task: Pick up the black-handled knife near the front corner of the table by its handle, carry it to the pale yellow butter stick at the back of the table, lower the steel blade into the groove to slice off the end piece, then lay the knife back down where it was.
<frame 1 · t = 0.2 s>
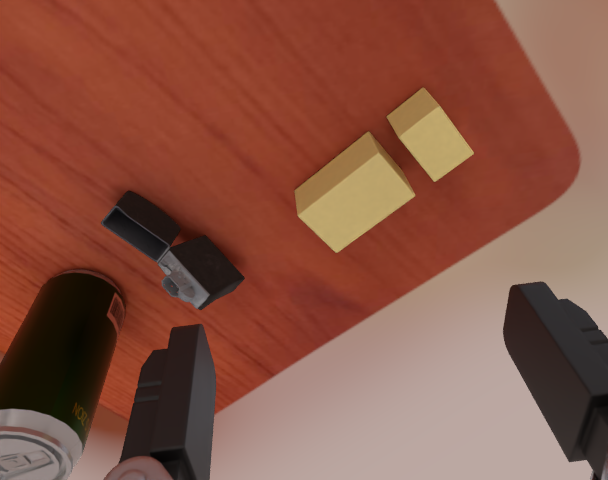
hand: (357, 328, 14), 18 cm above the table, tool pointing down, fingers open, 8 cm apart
butter: (348, 181, 31), on the table
guarana soda can: (86, 296, 34), on the table
lighter: (179, 233, 32), on the table
butter piece: (421, 124, 29), on the table
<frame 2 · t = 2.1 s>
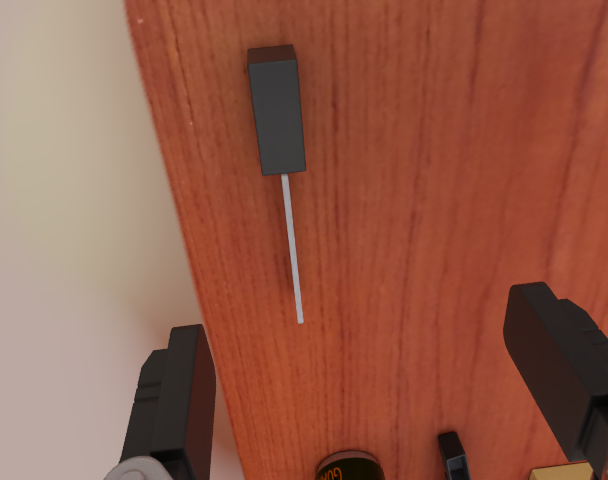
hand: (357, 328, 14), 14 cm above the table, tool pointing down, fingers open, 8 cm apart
knife: (276, 102, 24), on the table
butter: (560, 476, 44), on the table
guarana soda can: (347, 466, 41), on the table
lighter: (446, 459, 42), on the table
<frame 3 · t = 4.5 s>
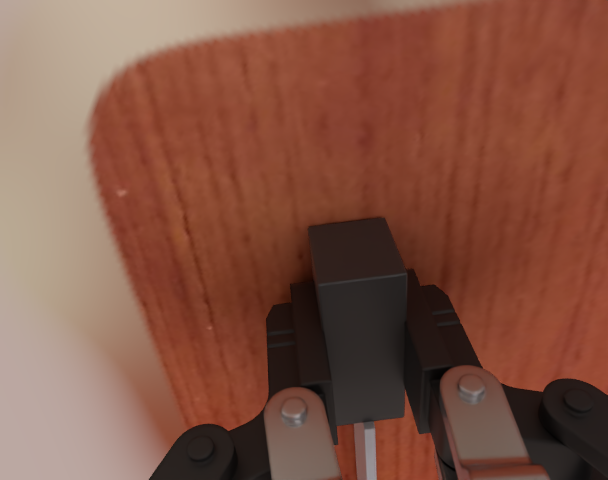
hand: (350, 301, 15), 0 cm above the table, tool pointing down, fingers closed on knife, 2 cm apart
knife: (350, 295, 15), on the table, touching gripper
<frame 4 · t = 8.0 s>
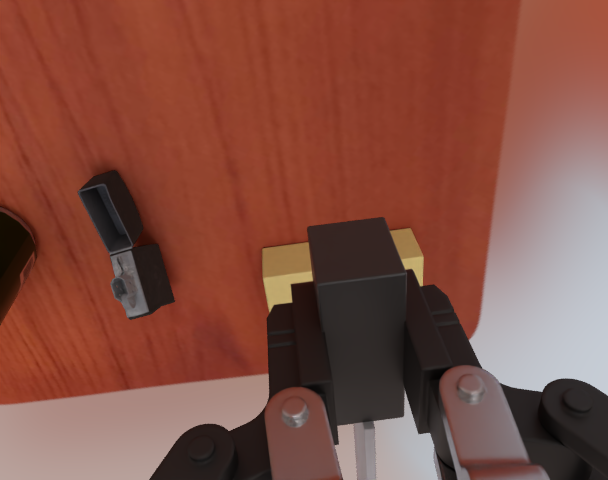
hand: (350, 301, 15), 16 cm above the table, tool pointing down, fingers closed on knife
knife: (350, 295, 15), point 15 cm above the table, touching gripper
butter: (309, 264, 33), on the table
lighter: (133, 228, 31), on the table
butter piece: (391, 252, 33), on the table
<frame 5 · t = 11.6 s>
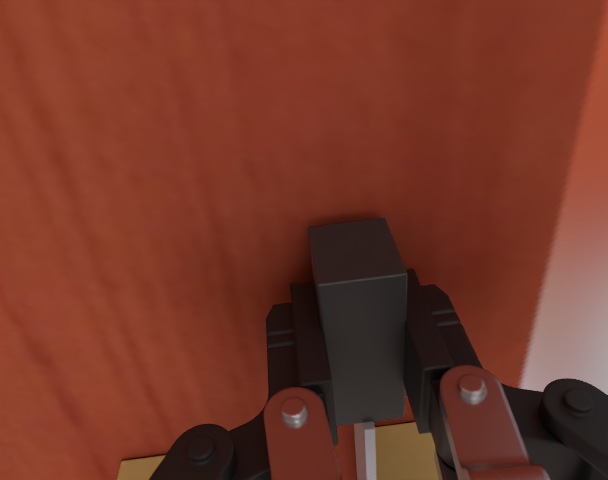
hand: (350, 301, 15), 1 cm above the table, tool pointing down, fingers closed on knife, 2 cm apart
knife: (350, 295, 15), on the table, touching butter piece, gripper
butter: (207, 477, 20), on the table
butter piece: (394, 452, 20), on the table, touching knife
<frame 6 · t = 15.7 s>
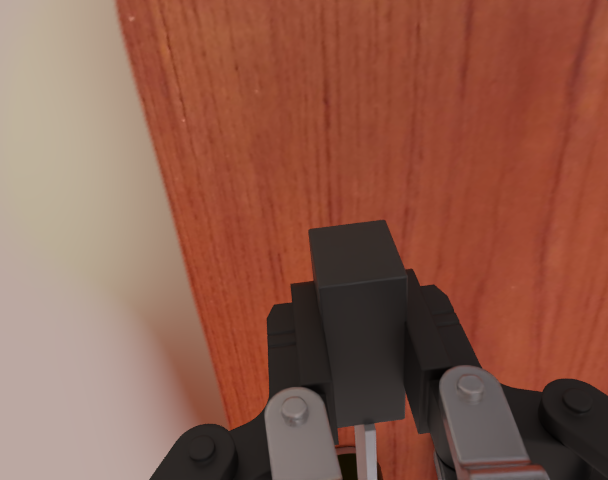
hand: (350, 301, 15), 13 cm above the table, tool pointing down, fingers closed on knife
knife: (351, 297, 15), point 13 cm above the table, touching gripper
guarana soda can: (344, 462, 41), on the table
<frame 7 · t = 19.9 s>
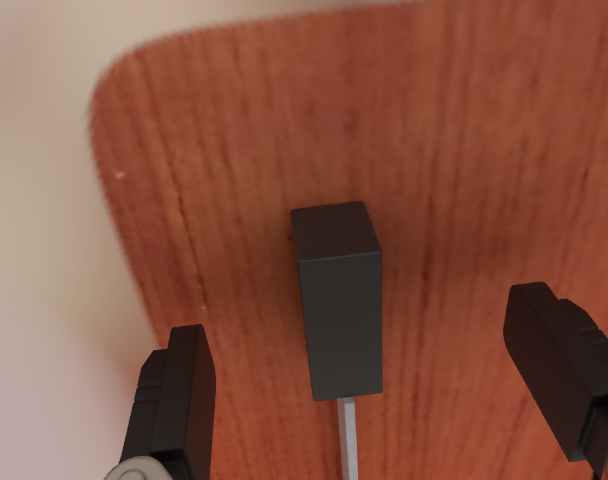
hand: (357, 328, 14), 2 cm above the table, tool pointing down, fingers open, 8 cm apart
knife: (332, 277, 15), on the table
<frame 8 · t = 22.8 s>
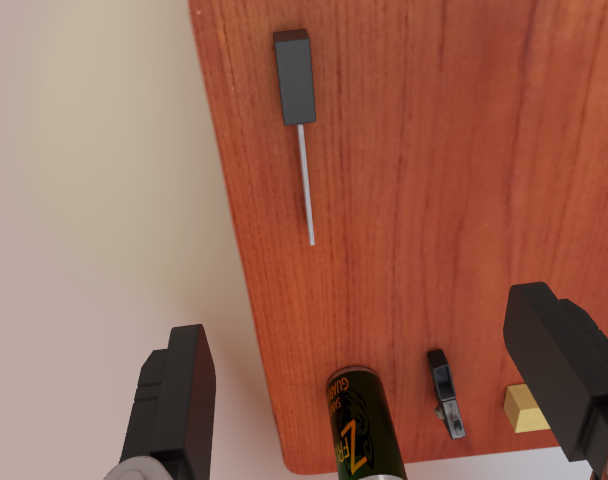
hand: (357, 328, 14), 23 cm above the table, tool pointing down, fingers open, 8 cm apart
knife: (293, 72, 33), on the table
butter: (532, 393, 53), on the table
guarana soda can: (352, 382, 50), on the table
lighter: (435, 376, 50), on the table
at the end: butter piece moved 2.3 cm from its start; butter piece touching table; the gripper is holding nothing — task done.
